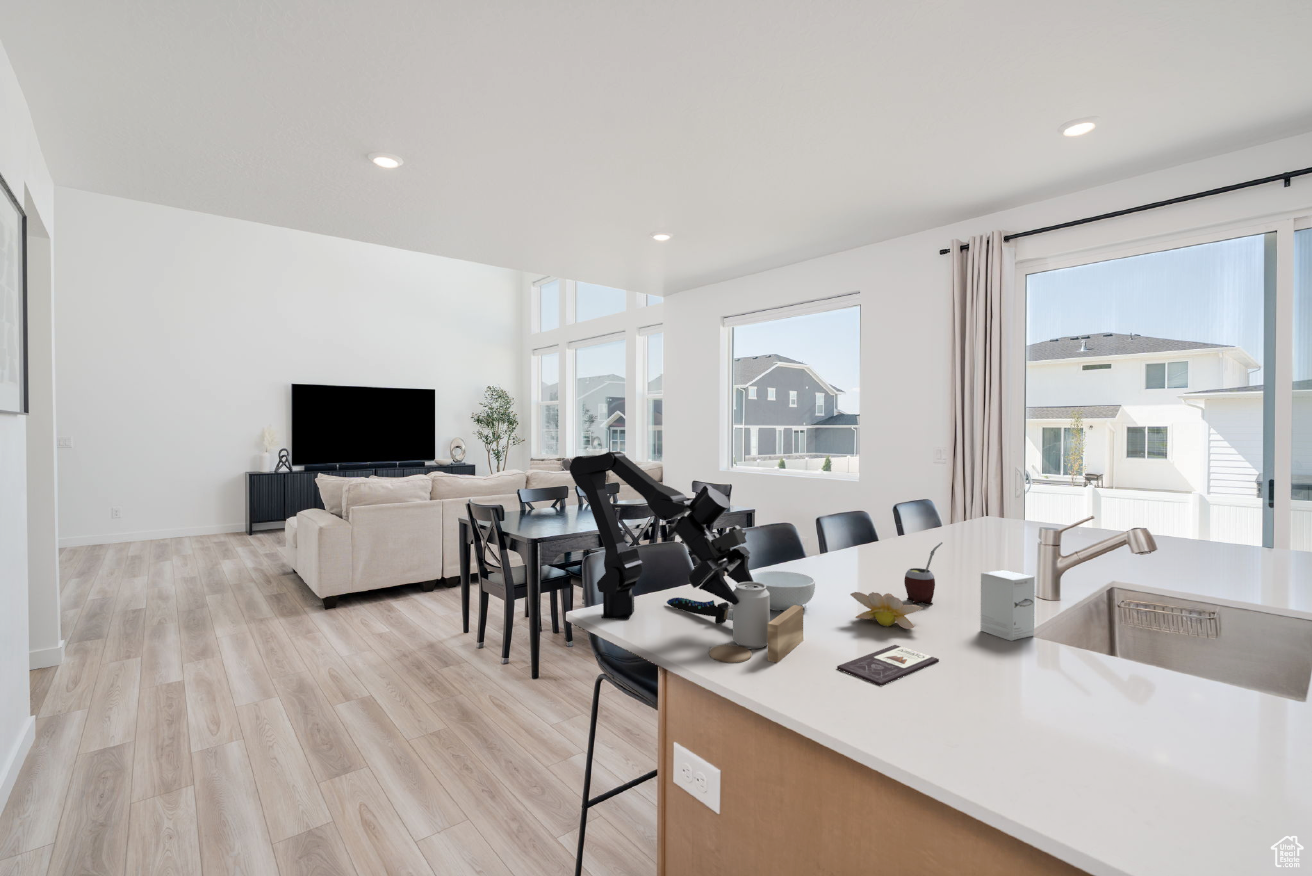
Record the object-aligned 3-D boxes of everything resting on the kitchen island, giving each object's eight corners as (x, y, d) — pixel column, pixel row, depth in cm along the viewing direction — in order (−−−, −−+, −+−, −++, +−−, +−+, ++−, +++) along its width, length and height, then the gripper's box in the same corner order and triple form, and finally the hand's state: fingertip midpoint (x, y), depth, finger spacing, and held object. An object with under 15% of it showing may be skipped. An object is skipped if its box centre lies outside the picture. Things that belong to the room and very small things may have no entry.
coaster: (708, 661, 112) (708, 658, 112) (711, 646, 120) (710, 643, 120) (751, 663, 111) (751, 661, 111) (751, 648, 119) (751, 645, 119)
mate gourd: (899, 602, 150) (899, 542, 150) (913, 596, 155) (913, 538, 155) (929, 608, 144) (929, 546, 144) (943, 602, 150) (943, 542, 149)
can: (773, 639, 124) (772, 581, 123) (767, 652, 117) (766, 590, 116) (737, 635, 126) (736, 578, 126) (729, 647, 119) (728, 588, 119)
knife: (766, 630, 126) (764, 608, 126) (756, 632, 124) (754, 610, 124) (675, 611, 150) (674, 593, 150) (666, 613, 148) (665, 594, 149)
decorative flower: (937, 615, 133) (930, 573, 132) (921, 641, 125) (914, 596, 123) (870, 607, 143) (863, 568, 141) (852, 630, 135) (844, 589, 133)
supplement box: (1012, 641, 122) (1012, 579, 121) (979, 630, 128) (979, 572, 128) (1035, 636, 125) (1036, 576, 124) (1002, 625, 131) (1002, 568, 131)
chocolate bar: (837, 665, 108) (895, 644, 119) (837, 671, 108) (895, 649, 119) (881, 683, 101) (938, 658, 111) (881, 688, 101) (938, 663, 111)
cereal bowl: (823, 616, 139) (823, 586, 139) (751, 616, 139) (751, 586, 139) (805, 596, 156) (805, 569, 156) (741, 596, 156) (741, 569, 156)
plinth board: (767, 660, 112) (767, 623, 112) (793, 638, 124) (793, 604, 124) (777, 662, 111) (777, 625, 111) (803, 640, 123) (803, 606, 123)
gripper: (700, 520, 117) (753, 583, 111) (741, 509, 133) (789, 564, 127) (667, 556, 122) (716, 619, 116) (710, 541, 137) (755, 596, 131)
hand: (746, 597), depth 122 cm, fingers open, 9 cm apart
